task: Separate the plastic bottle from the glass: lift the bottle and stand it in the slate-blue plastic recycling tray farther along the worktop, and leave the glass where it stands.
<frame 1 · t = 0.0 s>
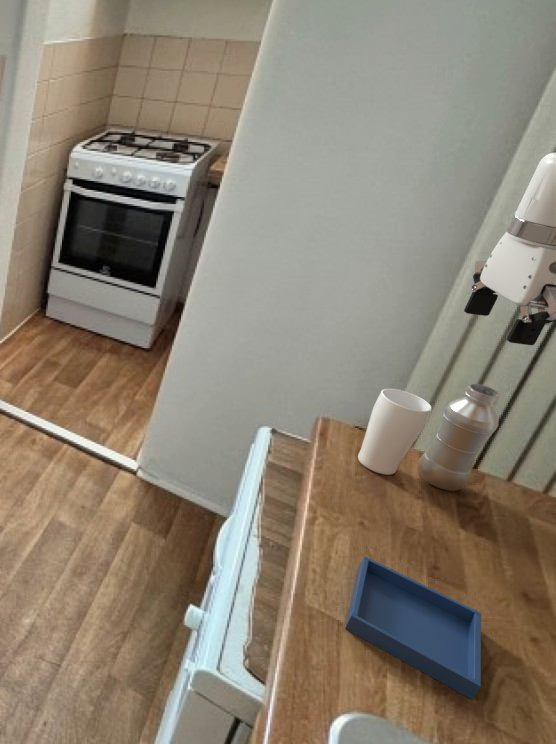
hand: (496, 327, 99), 30 cm above the countertop, tool pointing down, fingers open, 9 cm apart
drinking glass: (375, 466, 111), on the countertop
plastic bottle: (436, 482, 108), on the countertop
blue tray: (409, 627, 82), on the countertop
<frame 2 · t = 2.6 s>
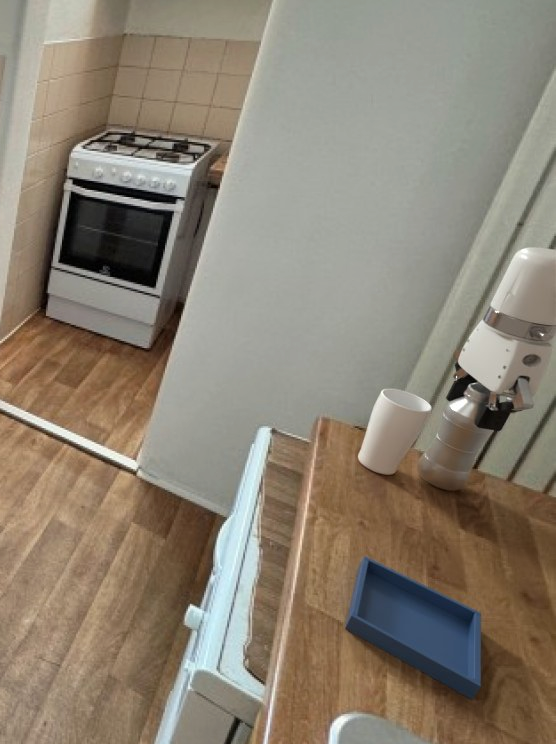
hand: (472, 414, 102), 15 cm above the countertop, tool pointing down, fingers closed on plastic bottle, 6 cm apart
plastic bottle: (436, 482, 108), on the countertop, touching gripper
everything else where it was.
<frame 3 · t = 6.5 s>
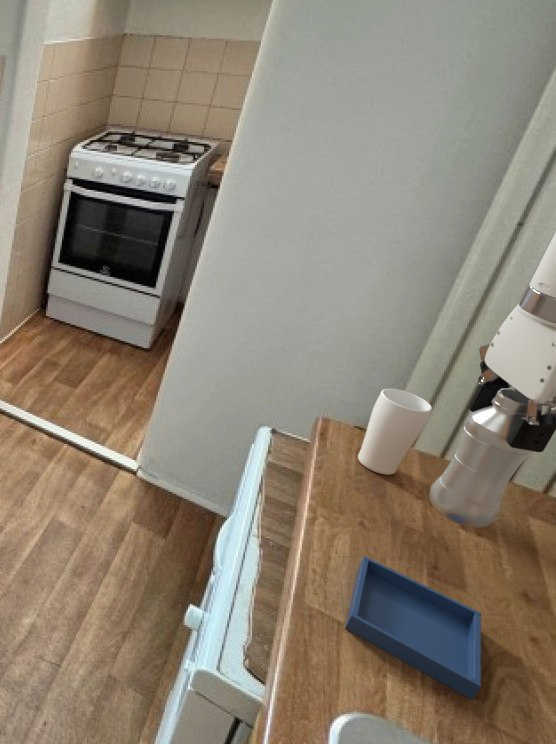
hand: (503, 428, 78), 29 cm above the countertop, tool pointing down, fingers closed on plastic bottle, 6 cm apart
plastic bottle: (454, 516, 83), point 14 cm above the countertop, touching gripper
everything else where it was.
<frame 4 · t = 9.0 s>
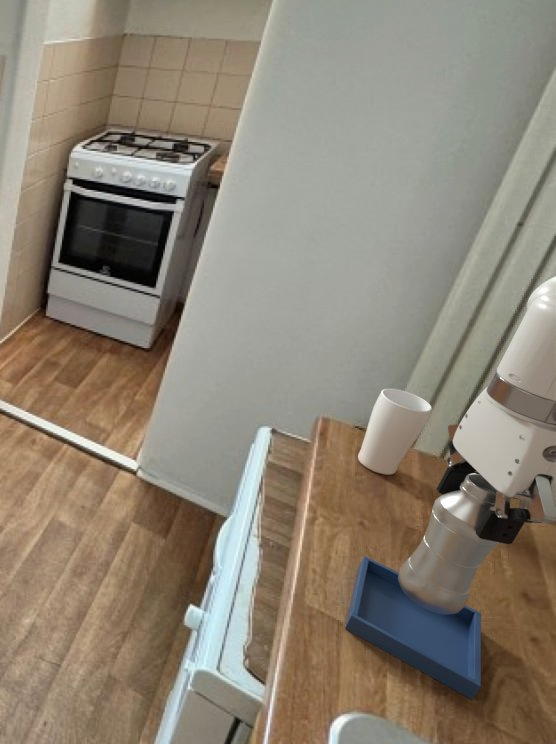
hand: (471, 515, 75), 21 cm above the countertop, tool pointing down, fingers closed on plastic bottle, 6 cm apart
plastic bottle: (424, 600, 81), point 5 cm above the countertop, touching gripper
everything else where it was.
when the fingers open (16 cm above the countertop, at t = 10.7 s): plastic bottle stays where it is, resting on blue tray.
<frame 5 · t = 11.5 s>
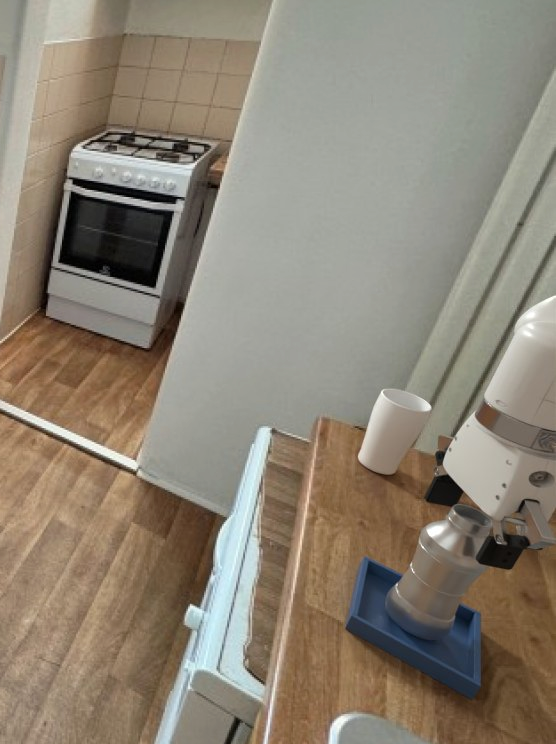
hand: (464, 532, 76), 18 cm above the countertop, tool pointing down, fingers open, 9 cm apart
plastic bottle: (410, 625, 82), resting on blue tray
everything else where it was.
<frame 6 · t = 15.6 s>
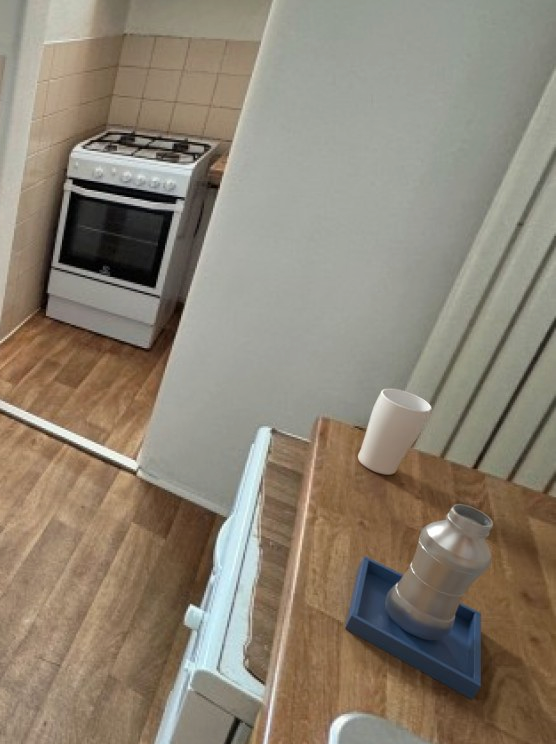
nothing on the countertop moved.
at the end: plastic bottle inside the target area in the blue tray (0.0 cm from its centre), point 0.4 cm above the blue tray's base; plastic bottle tilted 0°; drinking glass moved 0.2 cm from its start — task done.
